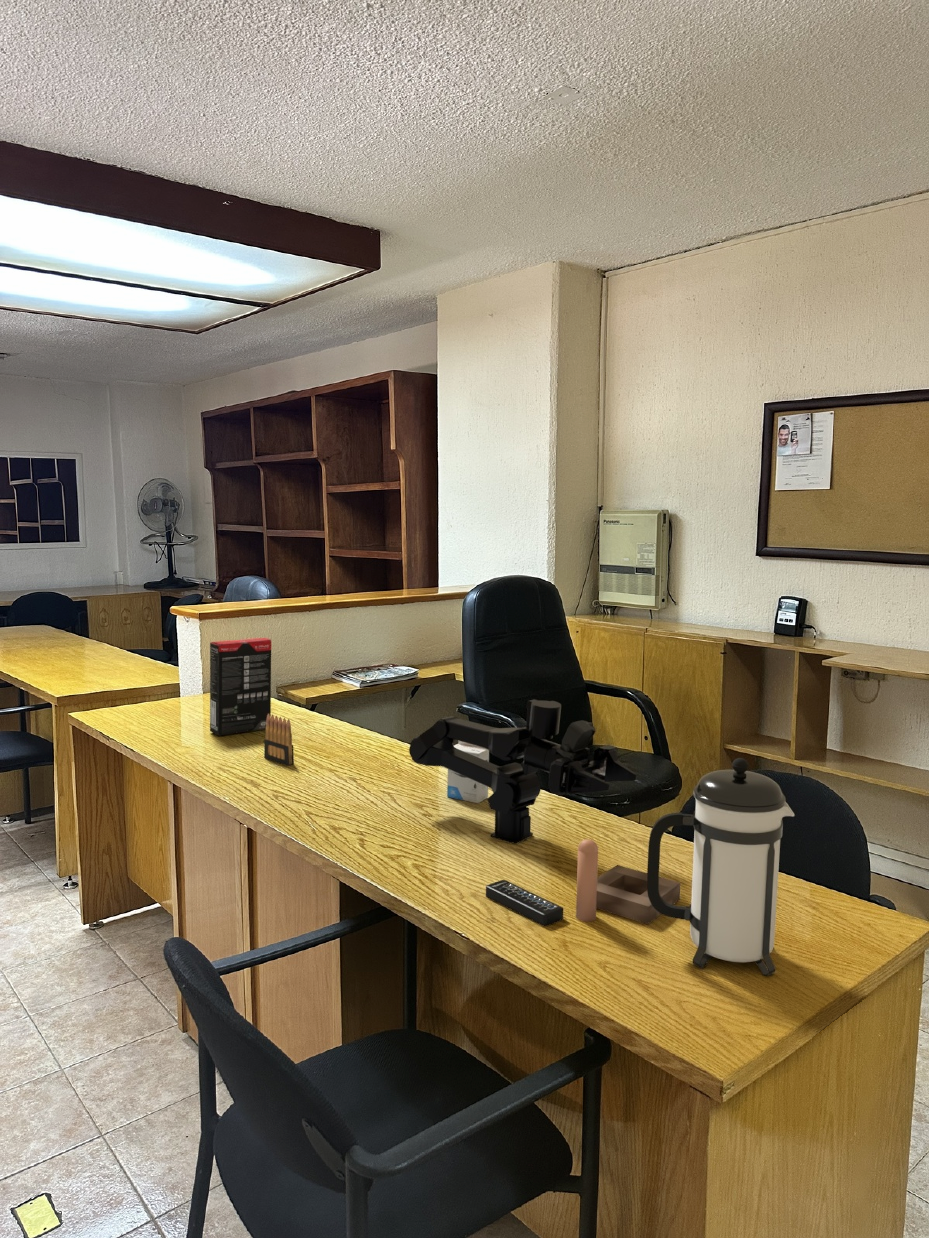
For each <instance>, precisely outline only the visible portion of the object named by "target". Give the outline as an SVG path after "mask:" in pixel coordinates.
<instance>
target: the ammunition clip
mask: <svg viewBox="0 0 929 1238" xmlns="http://www.w3.org/2000/svg"><path fill="white" fill-rule="evenodd" d="M291 725H292V724H291V720H290V718H288V719H286V717H284V718H282V717H281V716H279V718H278V715H275V716H274V714H272V713H271V718H270V714H269V713H268V715H267V720H266V729H265V738H264V741H263V742H264V749H263V750H264V753H263V754H264V757H263V758H264V759H266V760H269V761H271V762H275V763H279V764H281V765H284V766H286V767H289V766H293V765H295V761H294V760H295V759H294V756H295V755H294V754H295V753H294V744H293V734H292V726H291Z"/></svg>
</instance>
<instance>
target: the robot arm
mask: <svg viewBox="0 0 929 1238" xmlns="http://www.w3.org/2000/svg"><path fill="white" fill-rule="evenodd" d="M526 708H527V712H526V721H525V726H523V727H502V728H501V727H500V728H499V727H493V726H489V725H487V724H486V725H485V724H482V723H479V722H478V723H477V722H473V721H470V720H466V719H462V718H459V717H458V716H456V715H455V716H453V715H451V716H447V717H442V718H439V719H438V720H437V721H436V722H435V723H434V724H433V725H431V727H430V728H428V729H427V730H425V731H424V732H422V733H421V734H420V735H419V736H417V737H414V738H413V739H412V740H411V741H410V744H409V750H408V752H409V755H410V757H411V760H412V761H413V762H414V763H415V764H418V765H421V766H426V767H443V768H445V769H447V770H448V769H449V770H452V771H454V772H456V773H458V774H460V775H463V776H465V777H467V778H469V779H472V780H474V781H476V782H478V783H481V784H483V785H485V786H487V787H488V789H489V788H490V790H491V791H492V794H491V795H490V796H488V798H487V802H488V806H489V809H490V810H493V811H494V831H493V832H491V833H489V837H490V838H493V839H497V840H501V841H504V842H506V843H509V844H510V843H512V844H517V845H518V843H521V842H522V841H525V840H527V839H529V838H530V837H533V836H534V833H533V832H531V823H532V822H531V821H532V819H531V818H532V817H531V815H530V807H529V806H533V805H535V802H536V800H537V798H538V796H539V795H540V793H541V786H542V785H541V782H540V781H541V780H540V779H539V776H538V775H537V774H536V773H537V772H538V770H541V771H544V772H547V773H548V785H547V788H548V789H549V791H550V793H551V794H554V795H556V796H559V797H561V796H563V795H565V796H566V795H567V796H569V795H575V794H576V795H577V794H584V793H593V792H594V793H595V792H603V791H604V792H605V791H610V790H611V789H610V787H611V785H610V784H611V783H612V782H634V781H636V780H637V778H638V774H637V773H636V772H634V771H632V770H631V769H630V768H628V767H627V766H626V765H625V764H623V763H622V762H621V761H620V760H619V758H618V755H619V753H618V752H619V751H618V748H617V747H616V746H613V745H610V744H606V745H603V746H599V747H598V748H596V749H595V750H594V754H593V760H590V757H589V755H590V753H591V748H588V745H589V744H590V742H591V740H592V739H593V737H594V736H595V733H596V731H597V730H596V727H595V726H594V723H593V722H588V721H587V720H583V719H582V720H577V721H573V722H571V723H570V725H569V726H568V727H567V729H566V732H565V733H564V735H563V738H562V739H561V744H558V743H556V742H553V741H550V740H552V739H553V737H554V736H557V735H558V734H559V731H560V720H561V710H562V703H560V702H558V701H555V700H550V701H549V700H538V699H531V700H528V701H527V703H526ZM456 741H457V742H458V741H462V742H466V743H469V744H473V745H476V746H480V747H483V748H486V749H488V750H489V753H491V755H492V756H494V757H496V758H498V759H499V760H501V761H504V762H511V761H515V760H518V759H522V758H523V761H522V762H521V763H519V762H512V763H508V764H505V765H501V766H499V765H497V764H494V763H492V762H490V761H489V762H488V761H485V760H483V759H480V758H478V757H476V756H473V755H471V754H469V753H466V752H464V751H461V750H459V749H457V748H455V747H454V743H456ZM609 782H611V783H609Z"/></svg>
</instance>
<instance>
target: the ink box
mask: <svg viewBox="0 0 929 1238" xmlns="http://www.w3.org/2000/svg"><path fill="white" fill-rule="evenodd" d="M457 742H458V743H457V744H455V745H454V744H453V745H454V747H455V748H457V749H459V750H461V751H464V752H466V753H469V754H471V755H473V756H476V757H478V758H480V759H483V760H485V761H488V762H490V751H489V750H488V749H486V748H483V747H480V746H476V745H473V744H469V743H466V742H462V741H458V740H457ZM446 780H447V781H446V782H447V783H446V784H447V787H446V790H447V791H446V793H447V794H446V797H447V798H450V799H455V800H460V801H466V802H470V803H475V804H480V803H481V802H483V801H485V800H486V799H488V798H489V787H487V786H485V785H483V784H481V783H478V782H476V781H474V780H472V779H469V778H467V777H465V776H463V775H460V774H458V773H456V772H454V771H452V770H449V769H447V779H446Z"/></svg>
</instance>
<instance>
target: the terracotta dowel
mask: <svg viewBox="0 0 929 1238" xmlns="http://www.w3.org/2000/svg"><path fill="white" fill-rule="evenodd" d="M598 861H599V847H598V844H597V842H596V841H594V840H593V839H589V838H586V839H583V840H581V841H580V842H579V843H578V847H577V869H576V870H577V872H576V873H577V875H576V877H577V878H576V904H575V905H576V906H575V918H576V919H577V920H578V921H581V922H587V923H589V922H593V921H595V920H596V919H597V908H596V901H597V877H598V868H599V867H598V866H599V865H598Z"/></svg>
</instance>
